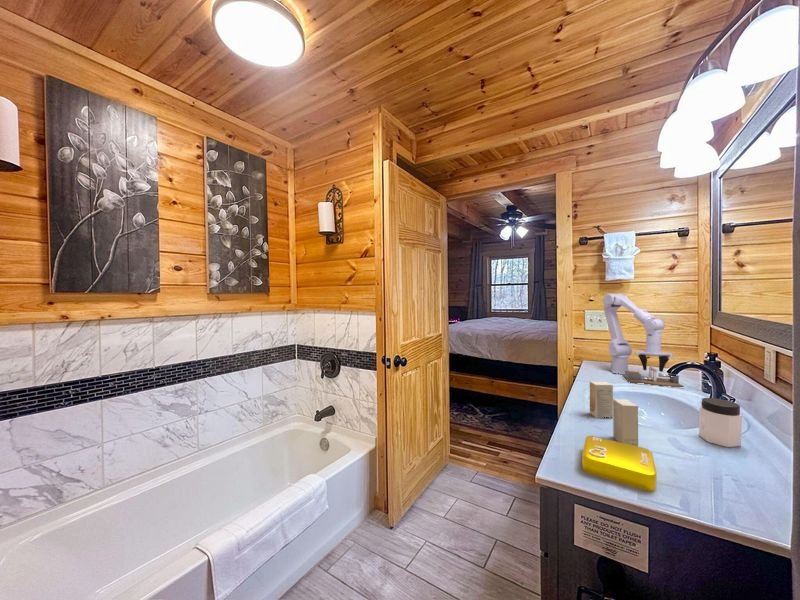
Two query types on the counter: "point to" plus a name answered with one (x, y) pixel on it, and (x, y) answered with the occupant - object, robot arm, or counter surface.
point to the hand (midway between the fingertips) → (652, 370)
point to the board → (658, 382)
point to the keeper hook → (671, 378)
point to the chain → (651, 374)
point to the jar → (720, 422)
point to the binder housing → (633, 375)
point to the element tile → (619, 462)
